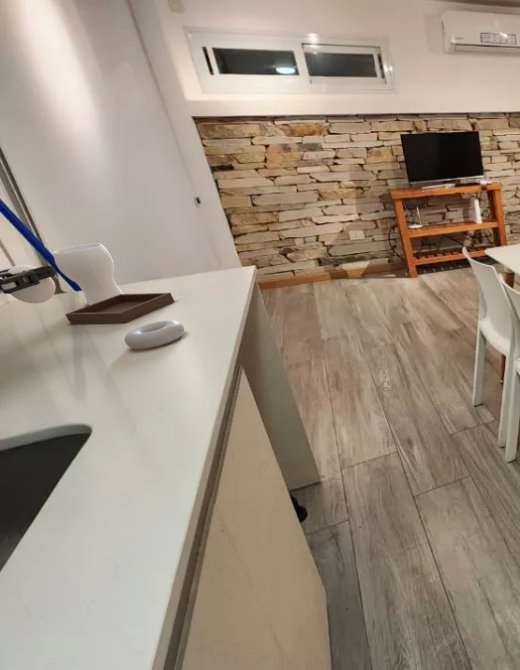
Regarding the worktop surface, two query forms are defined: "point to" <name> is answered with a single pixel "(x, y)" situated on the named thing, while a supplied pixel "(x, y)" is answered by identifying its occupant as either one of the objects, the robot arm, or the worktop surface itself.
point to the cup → (89, 270)
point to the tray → (120, 308)
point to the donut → (154, 334)
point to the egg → (34, 288)
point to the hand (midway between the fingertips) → (37, 270)
